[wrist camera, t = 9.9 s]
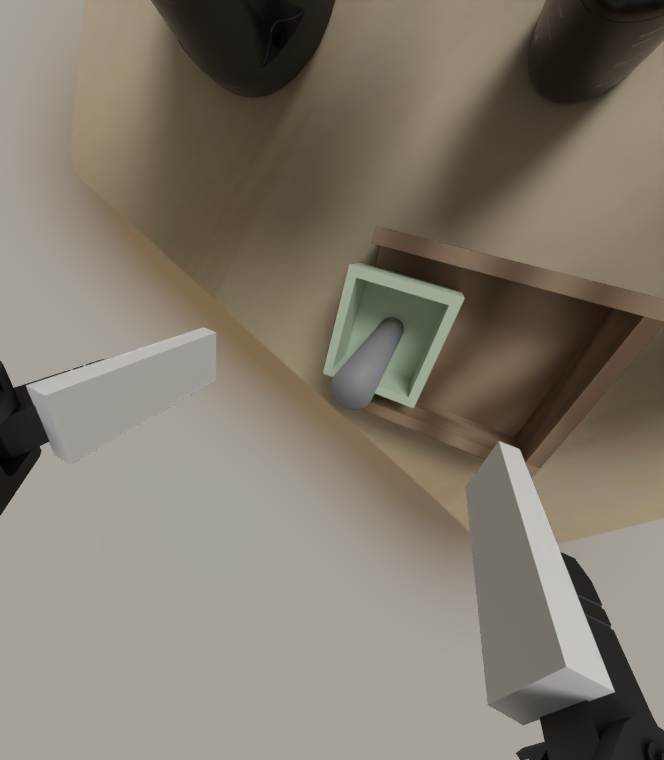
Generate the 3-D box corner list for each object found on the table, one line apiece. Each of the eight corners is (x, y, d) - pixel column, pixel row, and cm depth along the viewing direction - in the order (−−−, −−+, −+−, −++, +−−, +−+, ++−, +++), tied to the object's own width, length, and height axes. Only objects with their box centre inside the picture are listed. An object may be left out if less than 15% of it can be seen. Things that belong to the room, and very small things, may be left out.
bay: (344, 378, 33) (330, 396, 28) (386, 231, 25) (375, 226, 21) (518, 444, 29) (531, 477, 24) (632, 293, 21) (681, 303, 17)
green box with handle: (339, 356, 30) (268, 428, 18) (364, 262, 26) (291, 269, 13) (417, 385, 29) (399, 487, 16) (460, 290, 24) (483, 329, 11)
